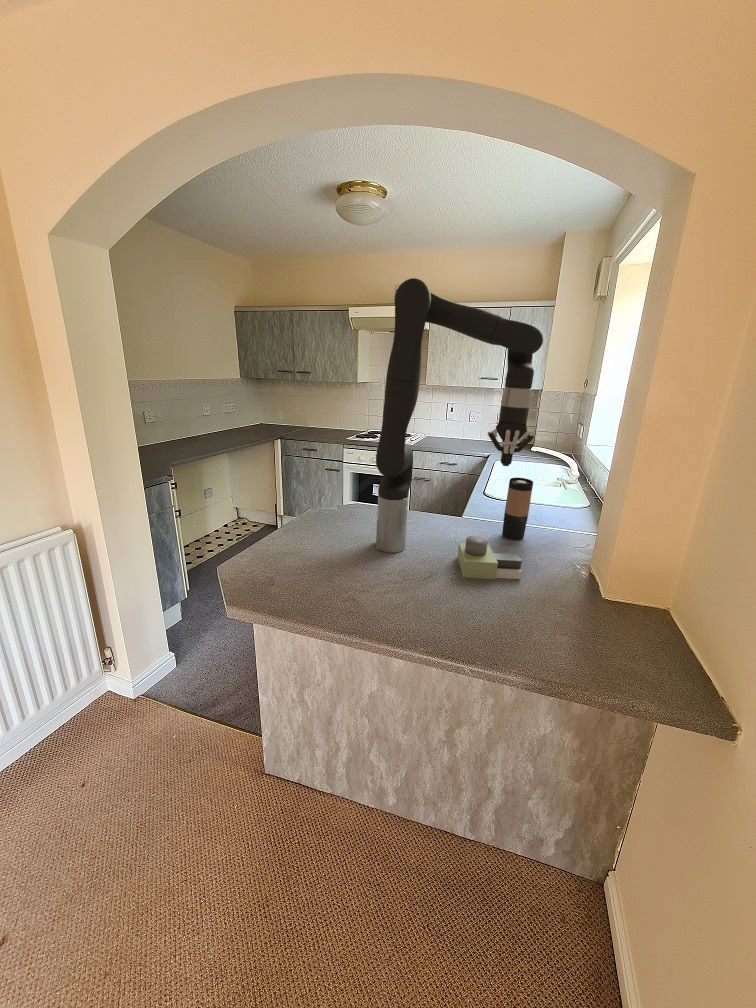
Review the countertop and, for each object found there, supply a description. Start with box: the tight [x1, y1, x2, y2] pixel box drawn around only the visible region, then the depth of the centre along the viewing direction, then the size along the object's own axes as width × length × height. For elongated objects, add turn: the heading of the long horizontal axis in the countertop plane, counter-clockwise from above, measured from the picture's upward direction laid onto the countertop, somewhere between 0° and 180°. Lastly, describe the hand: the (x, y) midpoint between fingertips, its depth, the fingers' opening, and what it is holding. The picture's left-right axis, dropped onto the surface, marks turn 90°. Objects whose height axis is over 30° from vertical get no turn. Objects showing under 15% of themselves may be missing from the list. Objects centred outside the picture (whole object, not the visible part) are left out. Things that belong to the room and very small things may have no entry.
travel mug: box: [501, 477, 534, 541], centre depth 138 cm, size 8×8×20 cm
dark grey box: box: [493, 552, 522, 570], centre depth 116 cm, size 7×4×5 cm, turn 87°
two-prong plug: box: [456, 535, 522, 580], centre depth 117 cm, size 16×12×8 cm
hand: (505, 465), depth 119 cm, fingers closed
